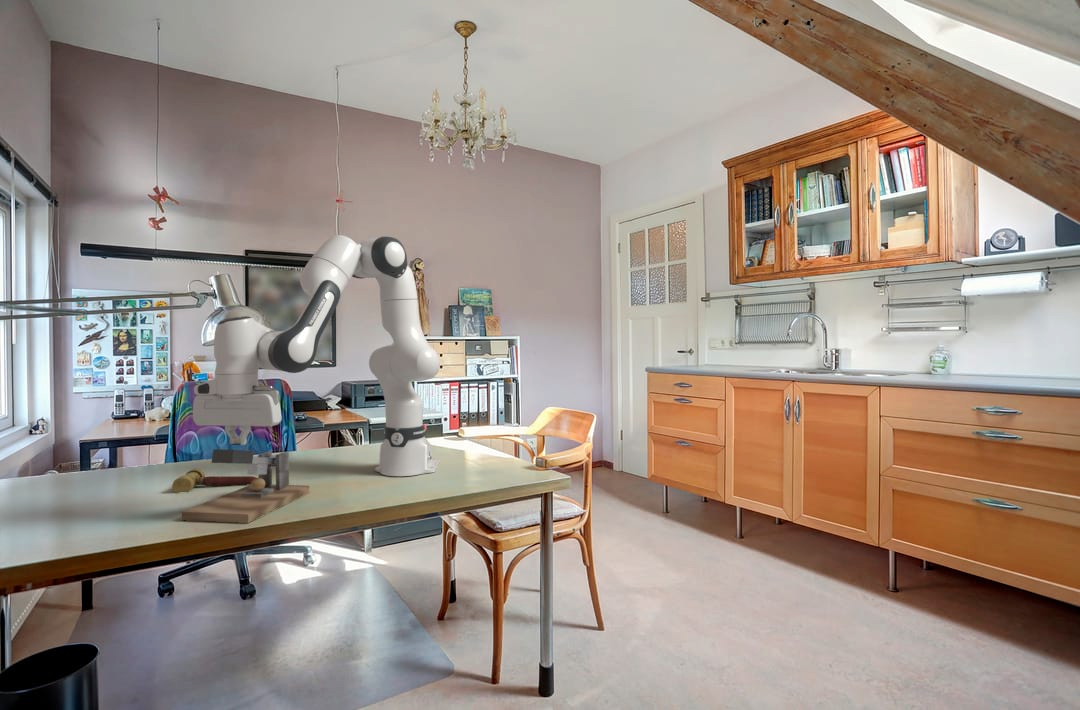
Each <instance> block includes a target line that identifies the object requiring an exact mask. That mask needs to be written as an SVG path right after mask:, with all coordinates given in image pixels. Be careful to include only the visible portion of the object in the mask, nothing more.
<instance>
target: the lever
mask: <svg viewBox="0 0 1080 710" xmlns="http://www.w3.org/2000/svg"><path fill="white" fill-rule="evenodd" d="M254 452H255V450H246V449H245V450H243V449H216V448H215V449H213V450H212V456H211V457H212V458H211V464H236V465H237V464H240V465H241V464H243V465H244V464H245V465H246V464H248V468H247V475H255V476H256V475H259V474H267V468H268V466H272V467H274V468H276V455H277V454H275V455H268V456H266V457H258V456H254Z"/></svg>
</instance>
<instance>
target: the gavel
mask: <svg viewBox="0 0 1080 710" xmlns="http://www.w3.org/2000/svg"><path fill="white" fill-rule="evenodd" d="M205 474H206V473H205V472H204V471H203V470H201V469H200V468H193V469H190V470H188V472H187V473H185V475H181V476H179V477H178V478H176V479H174V480H173V481H172V482H173V483H172V485H171V487H172V490H173V492H175V493H176V494H181V493H180V492H187V493H189V492H191V491H192V490H193V489H194V488H195V487H196V486H207V487H208V486H209V487H215V486H217V487H221V486H222V487H227V486H228V485H239V486H248V485H247V484H251V482H252V481H253V480H254V479H256V478H257V476H256V477H255V476H249V475H248V476H243V475H242V476H239V475H238V476H236V475H235V476H231V475H230V476H229V475H227V476H225V475H224V476H219V475H218V476H206V475H205ZM228 487H229V486H228ZM190 490H191V491H190Z"/></svg>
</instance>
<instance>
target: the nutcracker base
mask: <svg viewBox="0 0 1080 710" xmlns="http://www.w3.org/2000/svg"><path fill="white" fill-rule="evenodd" d="M272 454H273V453H272V451H266V452H262V453H258V454H257V455H258V456H257V457H266V456H268V455H272ZM275 455H276V467H275V484H273V466H268V468H267V474H259V475H258V477H256V479H254V480H253V481H252V482H251V485H246V486H244V487H242V488H239V489H236V490H234V491H231V492H229V493H226V494H224V495H221V496H219V497H216V498H213V499H211V500H208V501H206V502H202V503H201V504H198V505H195V506H193V507H190V508H188V509H185V510H182V511H181V521H182V520H186V521H185V522H201V521H214V522H213V523H225V522H238V523H237V524H250V523H252V522H254V521H256V520H257V519H256V518H258V517H260V516H262V515H264V516H266V515H267V514H266V513H268V512H270V511H272V512H274V511H275V510H274V509H276V508H278V507H281V506H283V505H285V504H287V503H289V502H291V501H293V500H295V499H297V498H299V497H301V496H303V495H305V496H307V495H308V493H309V494H310V485H303V484H302V485H299V484H290V474H289V473H290V465H289V463H290V462H289V461H290V459H289V457H290V453H289V451H283V452H281V453H277V454H275ZM306 494H307V495H306ZM303 497H304V496H303ZM301 498H302V497H301ZM299 499H300V498H299ZM297 500H298V499H297ZM295 501H296V500H295ZM293 502H294V501H293ZM291 503H292V502H291ZM289 504H290V503H289ZM287 505H288V504H287ZM285 506H286V505H285ZM283 507H284V506H283ZM281 508H282V507H281ZM278 509H279V508H278ZM273 510H274V511H273ZM276 510H277V509H276ZM270 513H271V512H270ZM265 514H266V515H265ZM268 514H269V513H268ZM262 517H263V516H262ZM260 518H261V517H260ZM255 519H256V520H255ZM258 519H259V518H258ZM253 520H254V521H253ZM215 521H216V522H215ZM251 521H252V522H251ZM249 522H250V523H249Z"/></svg>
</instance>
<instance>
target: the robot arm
mask: <svg viewBox="0 0 1080 710" xmlns="http://www.w3.org/2000/svg"><path fill="white" fill-rule="evenodd" d="M414 276H415V275H414V273H413V270H412V268H411V267H410V266H408V255H407V252H406V249H405V247H404V245H403V244H402V242H401V241H400V240H399V239H397V238H395V237H394V236H393V237H391V236H380V237H370V238H366V239H364V240H361V241H357V242H355V241H354V240H353V239H352V238H350V237H348V236H347V235H343V234H341V235H339V234H337V235H333V236H332V237H330V238H329V239H328V240H326V241H325V242H324V243H323V244H322V245H321V246H320V247H319V248H318V249H317V250H316V252H315V253H314V254H313V255H312V257H311V258H310V259H309V260H308V262H307V263H306V265H305V266H304V268H303V270H302V272H301V274H300V277H299V283H300V286H301V288H302V290H303V292H304V293H305V294H306V295H307V296H308V301H307V303H306V305H305V307H304V308H303V309H302V312H301V314H300V315H299V316H298V318H297V321H296V322H295V323H294V325H292V326H291V327H289V328H287V329H284V330H275V329H272V328H269V327H268V326H265V325H263V324H261V323H260V322H258V321H256V319H254V318H253V316H248V315H247V316H244V315H243V316H237V317H229V318H224V319H221V320H220V321H219V322H217V324H216V326H215V331H214V340H213V357H214V359H215V364H216V366H215V370H214V379H210V380H208V381H205V382H202V383H199V384H196V385H194V387H193V393H194V394H195V395H196V396H195V397H194V399H193V403H192V404H193V405H192V420H193V422H194V424H196V426H208V427H210V426H211V427H212V426H214V427H215V426H216V427H217V426H218V427H219V426H222V427H224V432H225V433H226V435H227V436H228V438H229V444H230V445H231V446H245V445H246V444H247V437H248V436H249V433H250V432H251V430H252V427H273V426H277V425H279V424H280V423H281V422H282V418H283V417H282V409H281V404H280V392H279V390H278V389H276V388H275V387H274V386H271V385H266V386H265V385H259V369H263V370H267V371H269V370H270V371H278V372H279V371H281V372H285V373H290V374H297V373H301V372H303V371H304V372H305V370H307V369H308V368H309V367H311V365H312V364H313V363H314V361H315V359H316V356H317V352H318V351H317V350H318V347H319V342H320V339H321V337H322V335H323V333H324V331H325V330H326V327H327V326H328V323H329V321H330V320H331V318H332V316H333V314H334V312H335V311H336V309H337V306H338V304H339V302H340V299H341V295H342V293H343V291H344V290H345V288H346V286H347V285H348V283H349V282H350V280H351V278H355V279H359V280H360V279H367V278H368V279H373V278H374V279H376V281H377V283H378V285H379V286H378V287H379V301H380V302H379V303H380V312H381V313H380V314H381V324H382V327H383V329H384V330H385V331H386V332H387V333H389V335H390V336H391V338H392V340H393V343H394V345H385V346H382V347H379V348H377V349H375V350H373V352H371V354H370V356H369V360H368V366H369V369H370V372H371V373H372V375H374V376H375V378H376V379H377V381H378V382H379V385H380V388H381V391H382V394H383V398H384V405H385V407H384V408H385V426H384V429H383V435H384V436H383V438H384V441H383V442H382V443H381V444H380V450H379V463H378V464H379V465H378V466H376V467H375V470H374V471H375V472H378V473H380V474H381V475H384V476H387V477H410V476H417V475H423V474H430V473H435V471H436V470H437V467H438V466H439V465H440V459H437V458H434V457H433V446H432V444H431V443H430V441H428V439H427V438H426V437H425V436H426V431H427V429H428V428H427V424H426V423H424V422H423V420H424V417H423V415H424V413H423V411H424V409H423V407H424V406H423V405H424V404H423V399H422V398H421V396H420V395H419V394H418V393H417V392H416V391H415V389H414V386H413V383H412V382H422V381H423V382H424V381H427V380H432V379H433V378H435V377H436V376H437V375H438V372H439V370H440V368H441V361H440V360H441V359H440V355H439V354H438V352H437V350H435V349H434V348H433V347H432V346H431V345H430V344H429V342H428V341H427V338H426V336H425V335H424V332H423V330H422V325H421V321H420V312H419V311H420V310H419V301H418V291H417V286H416V280H415V277H414ZM423 423H424V424H423ZM237 427H239V431H241V432H240V434H239V436H238V435H237V432H236V430H237Z"/></svg>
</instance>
